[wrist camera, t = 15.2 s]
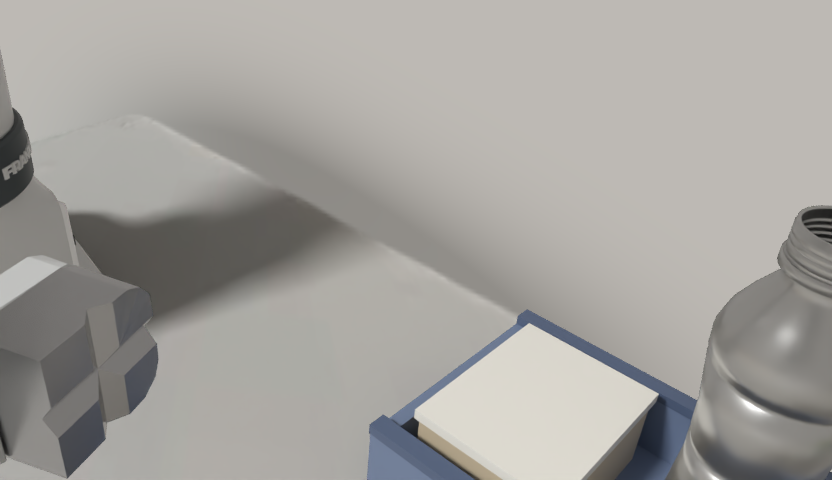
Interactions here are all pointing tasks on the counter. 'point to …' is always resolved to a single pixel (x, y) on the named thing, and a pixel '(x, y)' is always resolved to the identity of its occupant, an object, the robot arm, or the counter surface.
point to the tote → (397, 436)
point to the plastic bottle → (770, 371)
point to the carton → (537, 414)
